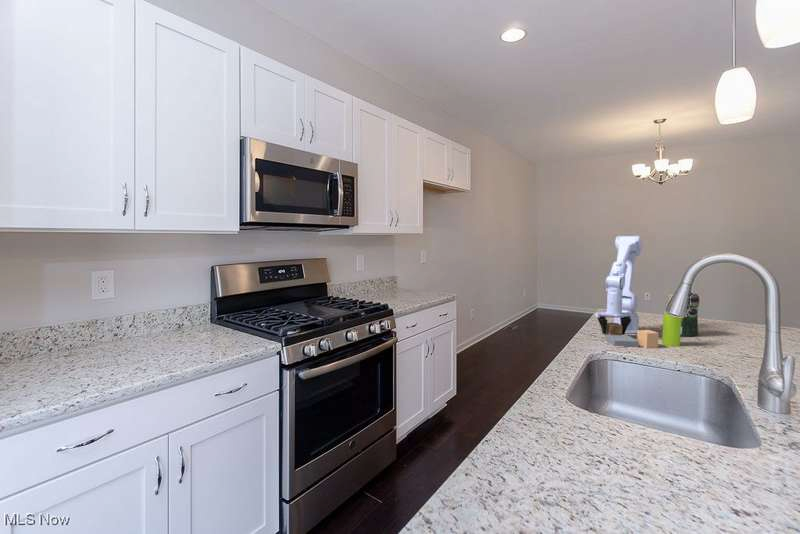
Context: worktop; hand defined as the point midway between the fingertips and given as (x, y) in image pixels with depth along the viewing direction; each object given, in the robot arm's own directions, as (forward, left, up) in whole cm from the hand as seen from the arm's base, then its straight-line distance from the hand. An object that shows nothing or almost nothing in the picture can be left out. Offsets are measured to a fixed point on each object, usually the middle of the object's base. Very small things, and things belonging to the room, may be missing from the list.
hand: (613, 333), depth 166 cm
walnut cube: (0, 0, -2) cm, 2 cm away
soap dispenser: (-19, +8, -2) cm, 21 cm away
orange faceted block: (-8, +12, -2) cm, 15 cm away
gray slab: (+1, +10, -2) cm, 10 cm away
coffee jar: (-33, -8, -2) cm, 34 cm away
